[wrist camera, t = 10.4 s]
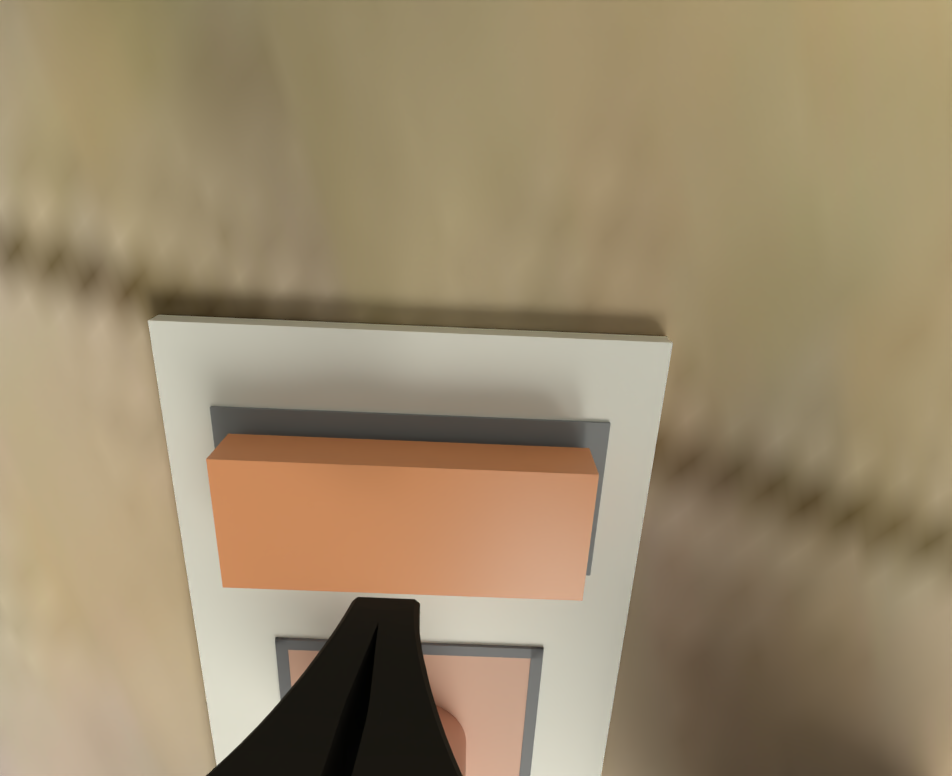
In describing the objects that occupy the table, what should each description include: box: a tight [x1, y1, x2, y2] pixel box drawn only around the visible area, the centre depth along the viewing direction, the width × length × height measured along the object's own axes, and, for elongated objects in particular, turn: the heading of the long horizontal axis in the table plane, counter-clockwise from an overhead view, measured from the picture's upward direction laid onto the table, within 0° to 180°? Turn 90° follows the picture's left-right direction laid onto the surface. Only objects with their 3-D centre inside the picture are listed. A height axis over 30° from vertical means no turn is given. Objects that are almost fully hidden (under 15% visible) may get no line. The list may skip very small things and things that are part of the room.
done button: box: [206, 434, 599, 601], centre depth 17 cm, size 10×4×2 cm, turn 88°
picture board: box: [148, 315, 673, 776], centre depth 20 cm, size 14×20×1 cm
